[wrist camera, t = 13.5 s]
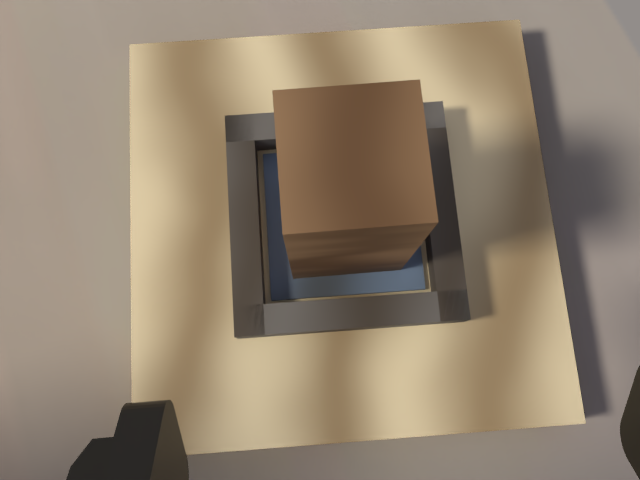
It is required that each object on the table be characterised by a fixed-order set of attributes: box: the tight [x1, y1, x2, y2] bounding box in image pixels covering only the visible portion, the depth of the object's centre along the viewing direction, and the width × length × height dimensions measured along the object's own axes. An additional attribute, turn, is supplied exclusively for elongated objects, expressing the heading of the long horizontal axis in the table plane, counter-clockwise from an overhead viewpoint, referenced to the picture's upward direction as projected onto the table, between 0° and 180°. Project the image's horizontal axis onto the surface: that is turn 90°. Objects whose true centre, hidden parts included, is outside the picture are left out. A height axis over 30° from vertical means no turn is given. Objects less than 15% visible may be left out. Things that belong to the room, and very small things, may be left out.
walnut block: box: [272, 79, 438, 279], centre depth 22 cm, size 4×4×8 cm
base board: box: [130, 20, 586, 455], centre depth 26 cm, size 18×18×3 cm
